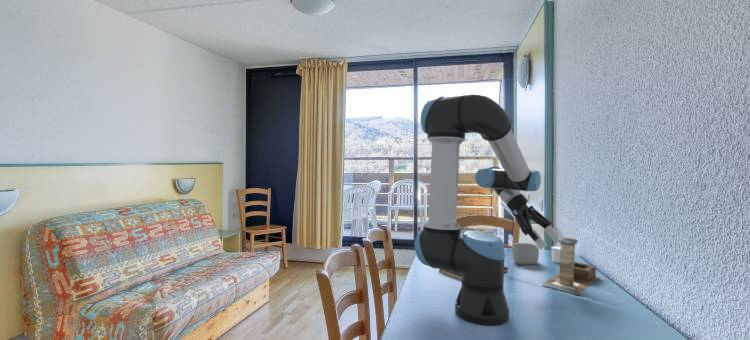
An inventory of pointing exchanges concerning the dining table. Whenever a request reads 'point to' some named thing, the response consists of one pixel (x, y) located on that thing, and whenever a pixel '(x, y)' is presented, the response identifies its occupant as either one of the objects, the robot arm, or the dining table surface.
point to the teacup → (525, 253)
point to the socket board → (576, 279)
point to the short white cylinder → (555, 254)
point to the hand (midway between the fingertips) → (551, 244)
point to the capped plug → (567, 260)
